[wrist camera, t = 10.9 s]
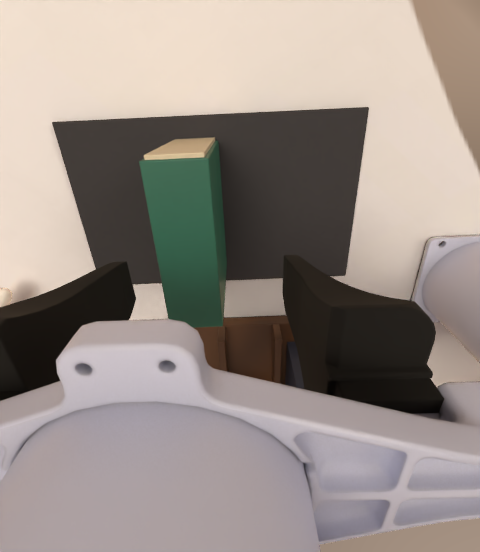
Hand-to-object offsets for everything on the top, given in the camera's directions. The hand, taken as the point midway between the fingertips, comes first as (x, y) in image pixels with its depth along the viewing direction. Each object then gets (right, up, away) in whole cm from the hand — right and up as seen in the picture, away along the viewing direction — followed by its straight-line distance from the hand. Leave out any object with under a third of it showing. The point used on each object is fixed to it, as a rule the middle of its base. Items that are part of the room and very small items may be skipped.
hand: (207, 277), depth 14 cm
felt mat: (0, +5, +8) cm, 10 cm away
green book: (-1, +5, +8) cm, 9 cm away
